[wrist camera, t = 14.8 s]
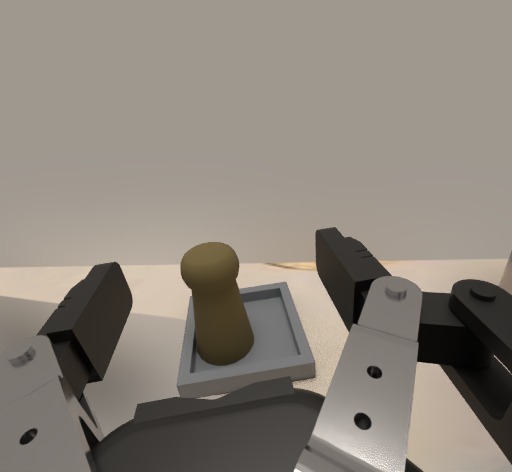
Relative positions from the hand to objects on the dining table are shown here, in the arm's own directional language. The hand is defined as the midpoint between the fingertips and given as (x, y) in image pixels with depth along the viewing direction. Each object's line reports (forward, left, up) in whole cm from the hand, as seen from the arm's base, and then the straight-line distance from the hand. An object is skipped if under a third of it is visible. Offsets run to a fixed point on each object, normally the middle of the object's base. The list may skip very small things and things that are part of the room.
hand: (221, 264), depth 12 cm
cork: (+2, -12, -17) cm, 21 cm away
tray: (0, -13, -17) cm, 21 cm away
